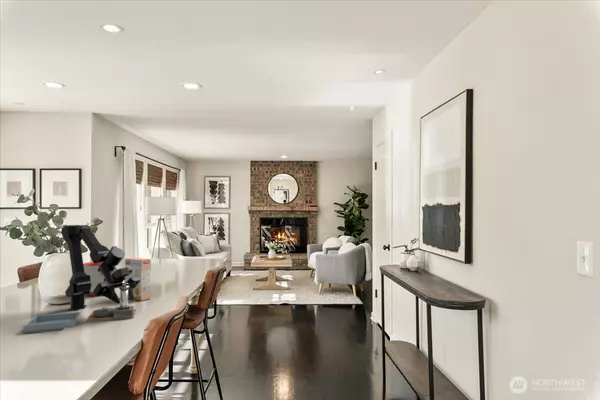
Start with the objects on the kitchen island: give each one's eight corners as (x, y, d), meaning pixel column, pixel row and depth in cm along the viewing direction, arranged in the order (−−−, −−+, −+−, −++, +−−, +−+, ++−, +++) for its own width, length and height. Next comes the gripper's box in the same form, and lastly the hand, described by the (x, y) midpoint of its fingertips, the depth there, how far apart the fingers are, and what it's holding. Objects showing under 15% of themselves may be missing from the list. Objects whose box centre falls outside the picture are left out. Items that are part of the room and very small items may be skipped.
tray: (36, 322, 153) (36, 315, 153) (80, 319, 158) (81, 312, 158) (24, 333, 140) (24, 325, 140) (73, 329, 145) (73, 321, 145)
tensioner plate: (91, 315, 164) (91, 304, 164) (136, 311, 170) (136, 301, 171) (84, 325, 150) (84, 313, 150) (133, 320, 156) (133, 309, 157)
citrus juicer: (94, 299, 194) (95, 260, 194) (76, 294, 203) (77, 257, 204) (122, 293, 207) (123, 257, 208) (104, 289, 216) (105, 255, 217)
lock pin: (119, 316, 160) (119, 285, 160) (129, 315, 161) (130, 284, 161) (118, 318, 156) (118, 287, 156) (128, 317, 157) (129, 286, 158)
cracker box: (150, 299, 194) (151, 258, 194) (140, 301, 189) (141, 260, 189) (134, 295, 201) (135, 256, 202) (123, 298, 196) (124, 258, 197)
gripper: (98, 263, 153) (114, 293, 147) (138, 258, 169) (154, 285, 163) (86, 280, 157) (101, 311, 151) (126, 274, 173) (141, 301, 167)
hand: (126, 301), depth 158 cm, fingers open, 6 cm apart
